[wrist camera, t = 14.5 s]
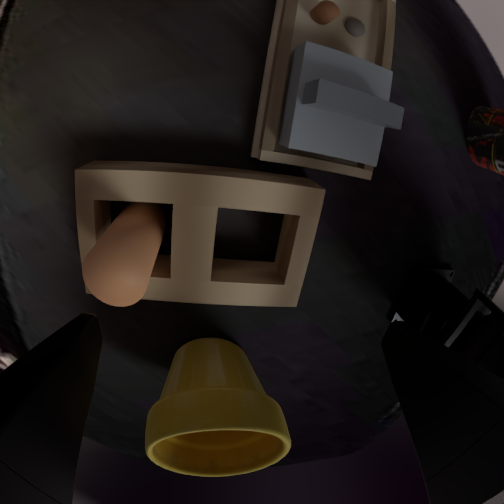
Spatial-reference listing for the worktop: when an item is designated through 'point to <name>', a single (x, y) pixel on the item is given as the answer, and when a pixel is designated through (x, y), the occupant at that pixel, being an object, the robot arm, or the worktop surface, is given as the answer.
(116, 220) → the peg
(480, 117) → the deodorant
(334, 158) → the shallow beige tray
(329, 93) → the cover
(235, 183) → the socket board
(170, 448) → the plant pot
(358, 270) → the worktop surface
